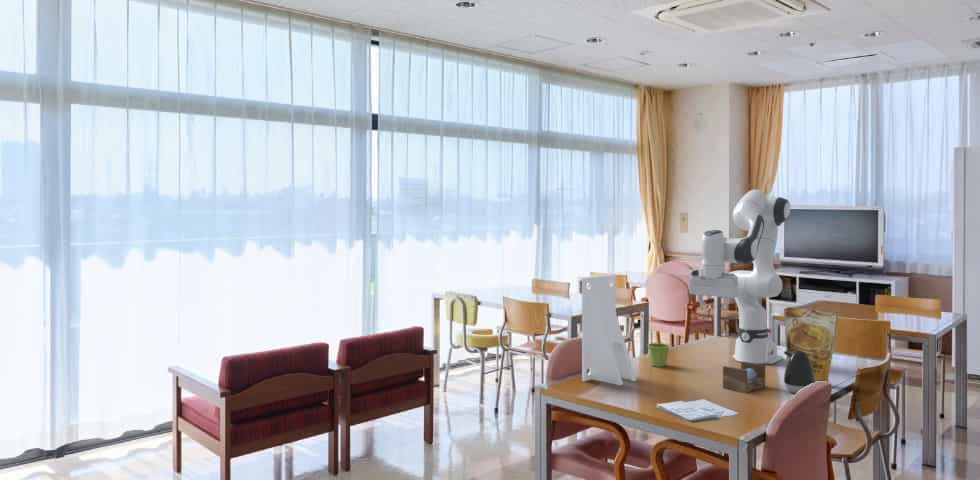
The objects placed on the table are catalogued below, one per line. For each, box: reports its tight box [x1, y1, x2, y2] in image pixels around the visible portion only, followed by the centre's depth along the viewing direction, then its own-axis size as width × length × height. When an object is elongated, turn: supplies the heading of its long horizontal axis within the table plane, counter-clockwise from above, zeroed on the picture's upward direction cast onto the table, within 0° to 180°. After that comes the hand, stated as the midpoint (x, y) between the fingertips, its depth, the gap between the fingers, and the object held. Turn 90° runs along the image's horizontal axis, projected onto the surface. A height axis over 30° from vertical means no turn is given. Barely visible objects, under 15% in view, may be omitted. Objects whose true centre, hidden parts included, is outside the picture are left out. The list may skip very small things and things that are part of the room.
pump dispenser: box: [783, 350, 815, 395], centre depth 254 cm, size 10×10×15 cm
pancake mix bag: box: [783, 306, 839, 383], centre depth 269 cm, size 7×19×28 cm, turn 42°
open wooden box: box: [722, 361, 766, 393], centre depth 263 cm, size 14×9×8 cm, turn 130°
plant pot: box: [647, 342, 671, 368], centre depth 301 cm, size 9×9×9 cm
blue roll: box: [744, 368, 757, 381], centre depth 263 cm, size 9×5×5 cm, turn 130°
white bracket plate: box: [581, 273, 637, 386], centre depth 276 cm, size 20×14×40 cm
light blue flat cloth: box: [655, 398, 740, 423], centre depth 232 cm, size 19×20×2 cm
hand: (713, 307), depth 278 cm, fingers open, 8 cm apart
